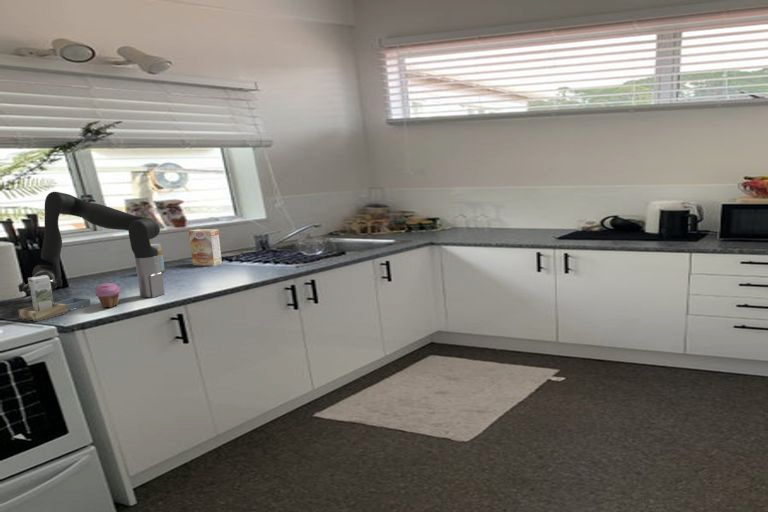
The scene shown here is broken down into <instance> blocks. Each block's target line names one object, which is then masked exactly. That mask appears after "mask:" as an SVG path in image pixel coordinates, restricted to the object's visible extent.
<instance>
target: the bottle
mask: <svg viewBox="0 0 768 512" xmlns="http://www.w3.org/2000/svg"><path fill="white" fill-rule="evenodd" d="M150 245H151V246H152V247H153V248H156V249H157V250H158V256H159V264H160V272H161V273H162V274H163V273H165V271H166V270H165V263H164V262H165V261H164V255H163V251H162V245H161V243H150Z"/></svg>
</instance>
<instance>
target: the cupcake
mask: <svg viewBox="0 0 768 512" xmlns="http://www.w3.org/2000/svg"><path fill="white" fill-rule="evenodd" d="M120 293H121V288H120V286H119V285H118V284H115V283H114V282H105V283H101V284H98V285H97V286H96V288H95V296H96V297H97V299H98V300H99V303H100V304H101V306H102V308H104V307H112V308H114V307H116V306H115V305H117V306H118V305H119V296H120V295H119V294H120ZM113 306H114V307H113Z"/></svg>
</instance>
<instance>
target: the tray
mask: <svg viewBox="0 0 768 512" xmlns="http://www.w3.org/2000/svg"><path fill="white" fill-rule="evenodd" d="M53 303H54V302H53ZM17 311H18V316H19V320H24V319H26V320H25V321H30V320H33V321H32V322H35V321H38V322H40V321H39V320H42V321H44V320H43V319H45V320H48V319H47V318H49V319H51V318H50V317H52V318H55V317H54V316H56V317H58V316H57V315H60V314H63V313H67V312H68V313H69V311H67V305H66V304H59V303H54V307H53V308H49V309H45V310H42V311H38V312H35V311H33V305H32V306H28V307H24V308H20V309H18V310H17ZM68 313H67V314H68ZM63 315H64V314H63ZM60 316H61V315H60Z"/></svg>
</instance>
